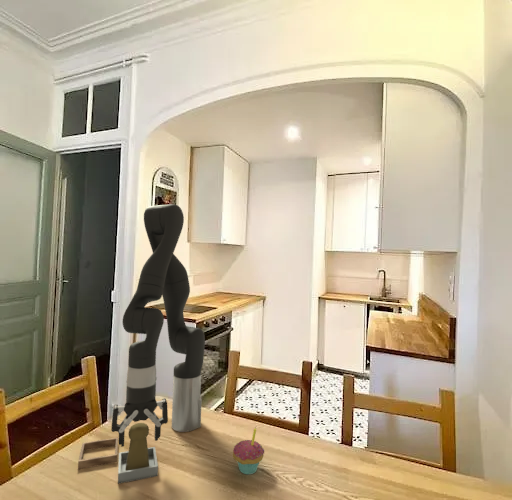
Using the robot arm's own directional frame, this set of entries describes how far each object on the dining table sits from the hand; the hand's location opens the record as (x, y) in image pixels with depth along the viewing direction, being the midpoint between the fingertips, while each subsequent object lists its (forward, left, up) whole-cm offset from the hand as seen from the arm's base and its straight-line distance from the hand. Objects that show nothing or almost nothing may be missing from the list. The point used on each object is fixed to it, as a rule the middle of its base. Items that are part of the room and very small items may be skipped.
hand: (139, 442), depth 90 cm
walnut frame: (+10, -9, -7) cm, 16 cm away
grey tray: (0, 0, -7) cm, 7 cm away
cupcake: (-28, +10, -7) cm, 30 cm away
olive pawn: (0, 0, -7) cm, 7 cm away
